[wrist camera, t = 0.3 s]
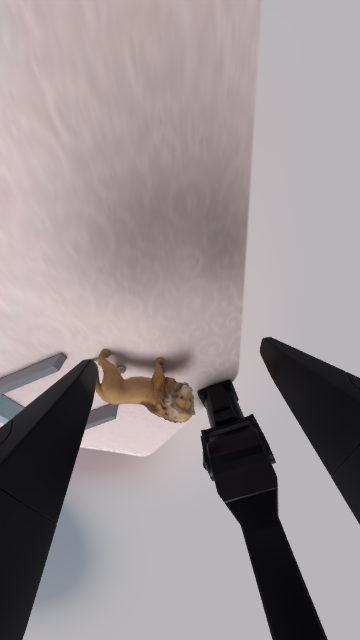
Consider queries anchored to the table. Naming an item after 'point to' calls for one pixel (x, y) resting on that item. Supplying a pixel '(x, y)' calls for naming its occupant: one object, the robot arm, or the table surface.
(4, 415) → the chassis bay
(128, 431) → the table surface
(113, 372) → the lion figurine
